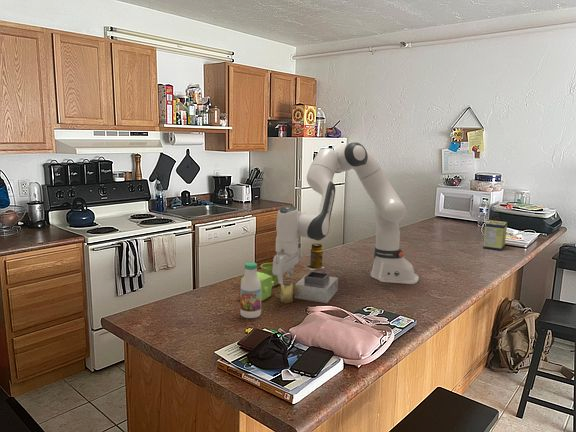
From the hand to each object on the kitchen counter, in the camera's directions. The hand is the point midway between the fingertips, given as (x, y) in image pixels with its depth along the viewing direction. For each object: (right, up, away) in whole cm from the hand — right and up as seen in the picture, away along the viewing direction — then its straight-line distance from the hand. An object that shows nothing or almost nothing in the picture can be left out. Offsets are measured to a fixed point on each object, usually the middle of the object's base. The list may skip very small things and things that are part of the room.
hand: (285, 279), depth 184 cm
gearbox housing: (+13, -7, +9) cm, 18 cm away
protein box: (+128, +6, +96) cm, 160 cm away
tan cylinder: (0, -9, +1) cm, 9 cm away
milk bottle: (-13, -11, -13) cm, 22 cm away
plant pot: (-7, -5, +21) cm, 23 cm away
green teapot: (-12, -8, +3) cm, 15 cm away
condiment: (+15, -1, +48) cm, 50 cm away
